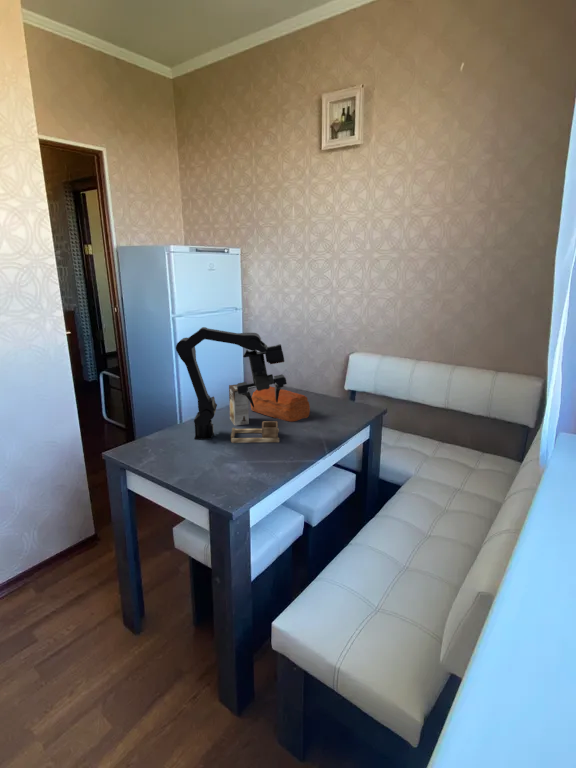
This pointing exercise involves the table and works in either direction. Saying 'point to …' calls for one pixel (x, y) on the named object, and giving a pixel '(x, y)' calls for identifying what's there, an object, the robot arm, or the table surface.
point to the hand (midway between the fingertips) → (265, 404)
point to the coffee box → (238, 406)
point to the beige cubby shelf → (249, 440)
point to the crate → (269, 429)
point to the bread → (281, 404)
